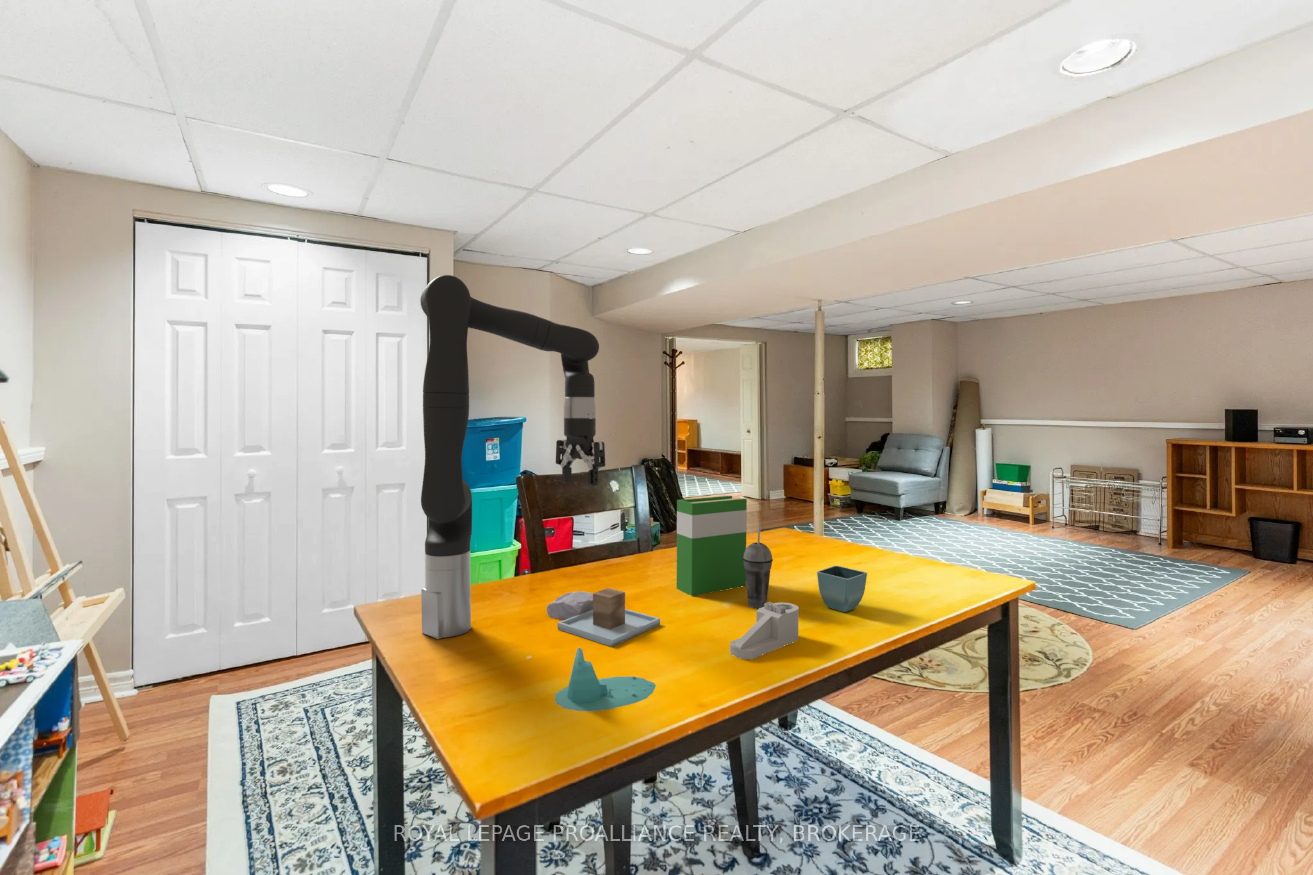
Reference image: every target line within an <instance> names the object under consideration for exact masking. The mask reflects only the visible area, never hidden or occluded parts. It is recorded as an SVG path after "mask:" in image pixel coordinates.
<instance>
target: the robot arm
mask: <svg viewBox="0 0 1313 875" xmlns="http://www.w3.org/2000/svg"><path fill="white" fill-rule="evenodd" d="M420 307H421V309H422V311H423V313H424V314H425V316H426V317H427V318H428V326H429V327H428V328H429V348H428V353H427V354H428V355H427V359H426V364H425V369H424V376H423V384H422V416H423V418H422V420H423V439H424V440H423V441H424V443H423V444H424V469H423V475H422V476H423V478H422V486H421V494H420V506H421V509H422V511H423V514H424V515H425V516H426V517H427V518H428V527H427V534H426V538H425V542H424V575H425V577H424V578H425V580H424V581H425V587H424V588H422V589H421V591H420V592H421V595H420V596H421V599H420V600H421V633H422V634H425V635H427V636H430V637H431V638H434V639H436V640H440V639H442V638H452V637H456V636H460V635H463V634H466V633H467V632H469V631H470V630H471V629H472V602H471V600H472V598H471V597H472V596H471V595H472V594H471V593H472V591H471V586H472V584H471V540H472V539H471V538H472V535H473V534H472V533H473V495H472V491H471V490H472V489H471V488H470V486H469V484H468V483H467V482H466V481H465V480H464V479H463V478H464V477H463V469H462V468H463V465H462V464H463V462H462V457H463V450H464V443H465V439H466V436H467V435H466V434H467V430H468V423H469V418H470V416H469V414H470V383H469V382H470V379H469V362H468V361H469V360H468V333H469V332H468V331H469V329H474V330H477V331H482V332H486V333H489V334H493V335H495V336H499V337H502V338H505V339H507V340H510V341H513V342H516V343H519V344H522V345H525V346H527V347H531V348H534V349H537V350H540V351H544V352H553V353H554V352H555V353H559V354H560V359H561V364H562V365H561V366H562V371H563V375H564V379H565V380H564V404H563V435H564V436H565V437H566V439H557V440H556V446H555V464H556V465H559V466H560V467H561V470H562V471H561V472H562V473H561V475H562V476H561V477H562V481H563V483H565V484H570V483H572V481H573V480H572V475H573V474H572V471H573V469H572V465H573V463H574V462H575V461H577V459H578V460H582V461H583V462H584V463H585V464H586V466H587V467H588V486H589V487H596V486H597V485H598V482H599V470H600V469H601V468H604V467H606V450H605V448H606V446H605V441H595V440H594V437H595V436H596V432H597V429H596V428H597V427H596V422H597V420H596V414H597V411H596V410H597V409H596V407H597V406H596V400H595V396H596V393H595V391H596V390H595V385H596V384H595V378H594V375H593V374H592V373H590V370H589V361H592V360H593V359H594V358H595V357H596V356H597V355H598V353H599V350H600V344H599V341H598V339H597V337H596V336H595V335H594V334H593V333H591V332H589V331H587V330H585V329H582V328H578V327H575V326H574V327H573V326H570V325H565V324H561V323H556V322H553V321H551V320H549V319H545V318H544V317H540V316H537V315H535V314H531V313H528V312H524V311H521V310H515V309H511V308H506V307H501V306H496V305H492V304H489V303H486V302H483V301H481V300H478V299H476V298H474V297H472V296H471V293H470V290H469V289H468V286H467V285H466V284H465V283H464V281H462V280H461V279H460V278H458V277H456V276H455V275H450V274H444V275H440V276H437V277H435V278H434V279H432V280H431V281H430V282H429V283H428V284H427V285H426V286H425V287H424V289H423V291H422V293H421V295H420Z"/></svg>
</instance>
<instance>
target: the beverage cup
mask: <svg viewBox="0 0 1313 875" xmlns="http://www.w3.org/2000/svg"><path fill="white" fill-rule="evenodd" d="M760 537H761V524H760V523H758V524H757V542H752V543H751V544H749V545H748V546H746V550H745V552H744V557H743V560H744V567H745V575H746V586H745V587H746V600H747V606H748V607H749V608H751V609H755V608H758V609H759V608H762V607H764V604H765V603H768V599H769V598H768V597H769V587H770V577H771V569H772V566H773V561H774V560H773V554H772V551H771V549H770V548H769V547H768V546H767V544H765V543H763V542H760V541H761V538H760ZM758 609H757V610H758Z"/></svg>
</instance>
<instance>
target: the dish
mask: <svg viewBox="0 0 1313 875" xmlns="http://www.w3.org/2000/svg"><path fill="white" fill-rule="evenodd" d="M660 625H661V618H660V617H656V616H652V615H649V614H645V613H641V612H637V611H634V610H631V609H626V608H625V623H624V624H622V625H620V626H618V627H615V628H613V629H611V630H609V629H606V628H602V627H599V626H596V625H593V610H590V611H587V612H585V613H582V614H579V615H577V616H574V617H571V618H569V619H562V620H560V621H558V622H557V630H559V631H563V632H566V633H569V634H571V635H574V636H577V637H581V638H584V639H587V640H590V641H592V642H593V641H594V642H596V643H600V644H603V645H606V646H608V647H611V648H613V647H616V646H618V645H620V644H621V643H624V642H626V641H628V640H630V639H632V638H635V637H636V636H638V635H641V634H643V633H645V632H647V631H650V630H652V629H654V628H655V627H658V626H660Z"/></svg>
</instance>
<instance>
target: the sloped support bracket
mask: <svg viewBox="0 0 1313 875" xmlns="http://www.w3.org/2000/svg"><path fill="white" fill-rule="evenodd" d="M799 614H800V613H799V606H798V605H797V604H793V603H790V602H774V603H773V602H771V601H767V603H765V604H764V607H762V608H759V609H757V610H756V620H755V621H756V622H755V623H754V624H753V625H752V626H751V627H750V628H749V629H748V630H747V631H746V632H745V633H744V634H743V635H742V636H741V637H739V638H737V639H734V640H731V641H729V652H730V653H731V654H730V656H732V655H734V656H733V657H735V656H736V657H735V658H737V657H738V658H737V659H739V658H741V659H740V660H746V659H751V661H752V660H754V658H755V659H758V658H760V657H762V656H763V655H762V654H765V655H767V654H769V652H770V651H772V652H774V651H773V650H775V649H777V650H779V649H778V648H780V647H782V648H784V647H783V646H784V645H787V644H789V645H792V644H793V643H792V642H794V643H796V642H795V641H797V640H798V641H799ZM798 641H797V642H798ZM791 643H792V644H791ZM787 646H788V645H787ZM780 649H781V648H780ZM775 651H776V650H775ZM766 653H767V654H766ZM770 653H771V652H770ZM761 655H762V656H761ZM759 656H760V657H759ZM757 657H758V658H757Z"/></svg>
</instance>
